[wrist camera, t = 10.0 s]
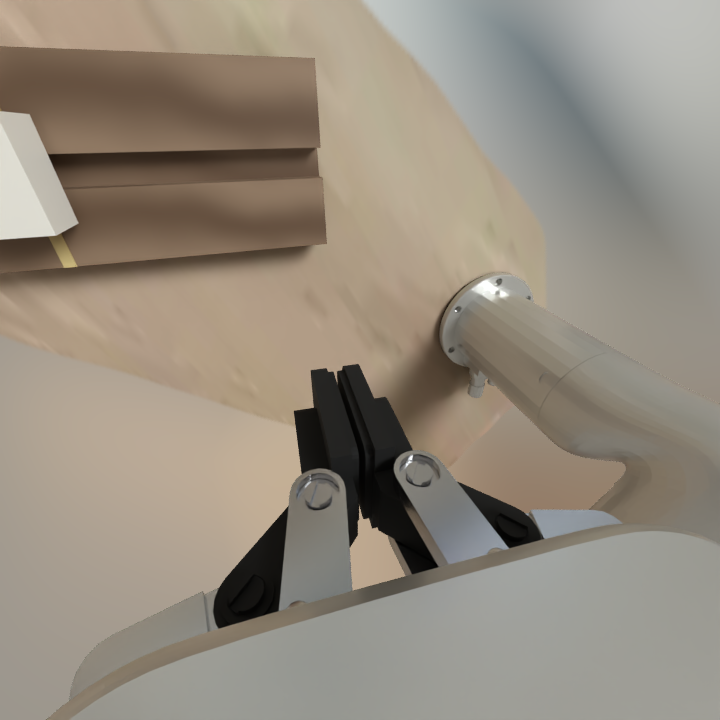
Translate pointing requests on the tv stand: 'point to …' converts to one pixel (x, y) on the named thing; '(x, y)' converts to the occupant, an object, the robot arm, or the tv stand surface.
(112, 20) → the tv stand surface
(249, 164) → the fader console
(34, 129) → the fader knob
